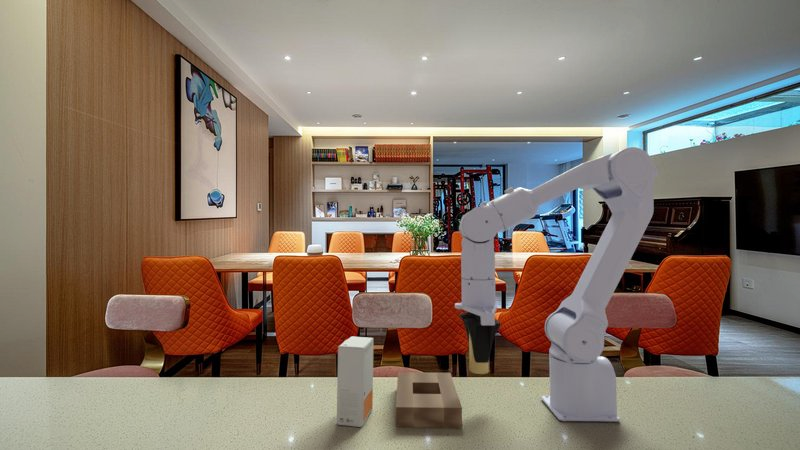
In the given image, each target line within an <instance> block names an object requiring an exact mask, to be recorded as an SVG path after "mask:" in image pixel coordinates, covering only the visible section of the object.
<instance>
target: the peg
mask: <svg viewBox="0 0 800 450" xmlns="http://www.w3.org/2000/svg"><path fill="white" fill-rule="evenodd" d="M468 356H469V357H468V358H469V361H468V362H469V364H468V365H469V367H468V368H469V371H470V372H471V373H472V374H477V375H485V374H486V375H487V374H488V373H489V372H490V367H489V365H490V363H489V361H490V360H489V361H488V363H476V362H475V359H474V355H473V349H472V342H471V338H470V334H469V344H468Z"/></svg>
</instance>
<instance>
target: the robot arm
mask: <svg viewBox="0 0 800 450" xmlns="http://www.w3.org/2000/svg"><path fill="white" fill-rule="evenodd" d="M658 174H659V170H658V167H656V165H655V163H654V161H653V159H652V158H651V156H650V154H649V153H647V151H645V150H644V149H642V148H639V147H636V146H634V147H633V146H629V147H624V148H622V149H620V150H618V151H617V152H616V153H614V154H612V153H608V154H606V155H602V156H600V157H597V158H594V159H591V160H588V161H585V162H583V163H581V164H578V165H577V166H575V167H573V168H571V169H568V170H567V171H565V172H563V173H561V174H559V175H556V176H555V177H553V178H551V179H549V180H548V181H545V182H544V183H541V184H540V185H538V186H536V187H534V188H532V189H528V188H525V187H517V188H514V187H513V186H511V187H508V188H507V189H506V190H504V194H502V195H500V196H498V197H496V198H493V199H492V200H490V201H488V202H487V201H486V200H484V201H483V202H480V203H479V206H475V207H474V208H473V209H471V210H469V211H468V212H466V213H465V214H464V215H463V216H462V217H461V219H460V222H459V225H458V231H459V234H460V236H461V237H462V238H461V249H462V250H461V252H460V260H461V261H460V262H461V263H460V264H461V265H460V267H461V271H460V272H461V275H460V276H461V279H460V280H461V302H456V303H454V308H455V309H456V310H462V311H463V310H464V311H465V312H460V313H459V317H460V319H461V320H462V322H463V325H464V329H465V333H466V337H467V344H468V345H469V334H470V338H471V342H472V349H473V355H474V359H475V362H476V363H488V361H490V360H489V359H490V357H491V353H492V352H491V351H492V347H493V343H494V339H495V336H496V335H497V334H496V333H497V332H498V330H499V329H500V327H501V322H500V321H499V320H498V319H497V320H496V319H495V318H496V315H495V314H496V312H497V309H498V305H497V303H496V255H495V254H496V252H495V247H494V245H495V244H494V243H495V241H494V240H495V237H496V235H497V233H498V232H499V233H503V232H505V231H507V230H509V229H511V228H512V229H513V228H514V227H516V226H518V225H520V224H522V223H525V222H527V221H528V220H530V219H532V218H535V216H536V215H537V211H538V209H539V207H540V206H542V205H543V204H545V203H548V202H551V201H553V200H554V199H557V198H559V197H562V196H564V195H566V194H568V193H570V192H573V191H574V190H577V189H581V190H584V191H585V190H586V191H588V190H592V191H593V192H595V194H597V196H598V197H600V198H601V199H602V200H603V201H604V202H605V203H606V205H607V207H608V209H609V210H610V212H611V216H610V218H609V220H608V223H607V225H606V226H605V228H604V230H603V232H602V234H601V236H600V238H599V240H598V242H597V244H596V247H595V248H594V250H593V252H592V254H591V256H590V258H589V260H588V262H587V263H586V266H585V268H584V270H583V271H582V274H581V275H580V278H579V280H578V282H577V284H576V285H575V287H574V290H573V292H572V293H571V294H570V295H568V297H566V298H565V299H563V300H562V301H561V303H560V305H559V306H558V308H557V309H556V310H555V311H554V312H552V313H550V314H549V315H548V317H547V318H546V320H545V323H544V332H545V336H546V337H547V338H548V340H549V341H550V342H551V345H550V348H549V349H548V351H549V355H548V356H549V357H548V358H549V360H548V362H549V395H541V396H540V399H541V401H542V402H543V403H544V404H545V405H546V406H547V407H548V409H550V411H551V412H552V414H553V415H554V416H555V417H556V418H557V419H558V420H559V421H561V422H620V421H621V418H620V417H619V416H618V405H617V403H618V401H617V398H618V397H617V395H618V394H617V393H618V392H617V376H616V372H615V370H614V369H615V368H614V367H613V364H612V363H611V361H610V360H609V359H608V358H607V357H606V356H602V353H603V350H604V347H605V333H606V331H607V328H608V327H609V321H608V318H607V317H608V316H607V314H606V308H607V306H608V305H609V303H610V300H611V298H612V296H613V294H614V292H615V291H616V288H617V287H618V284H619V283H620V281H621V278H622V277H623V275H624V272H625V270H626V269H627V267H628V266H629V263H630V261H631V260H632V257H633V255H634V253H635V252H636V249H637V247H638V245H639V244H640V241H641V240H642V238H643V235H644V234H645V231H646V230H647V228H648V225H649V224H650V222H651V219H652V218H653V215H654V211H655V208H654V202H655V201H654V200H655V199H654V181H655V180H656V179H657V176H658Z"/></svg>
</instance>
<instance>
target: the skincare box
mask: <svg viewBox="0 0 800 450" xmlns="http://www.w3.org/2000/svg"><path fill="white" fill-rule="evenodd" d="M336 383H337V389H336V390H337V391H336V425H340V426H345V427H346V426H348V427H357V428H362V427H363V426H364V424H365V422H366V420H367V418H368V417H369V415H370V414H371V412H372V411H373V403H374V402H373V396H374V394H373V392H374V389H373V388H374V337H366V336H365V337H364V336H354V335H353V336H350V337H349V338H347V339H345V340H344V341H343V342H342V343H341V344H340V345H338V346H337V382H336Z"/></svg>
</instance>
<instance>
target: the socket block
mask: <svg viewBox="0 0 800 450" xmlns="http://www.w3.org/2000/svg"><path fill="white" fill-rule="evenodd" d="M396 381H397V382H396V383H397V384H396V398H395V399H396V400H395V428H411V429H412V428H414V429H417V428H421V429H422V428H424V429H425V428H426V429H428V428H431V429H433V428H435V429H437V428H438V429H446V428H447V429H462V428H463V407H462V404H461V400H460V398H459V395H458V393H457V389H456V386H455V382H454V380H453V377H452V374H451V372H417V371H416V372H410V371H409V372H407V371H406V372H403V371H402V372H397V380H396Z"/></svg>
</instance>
